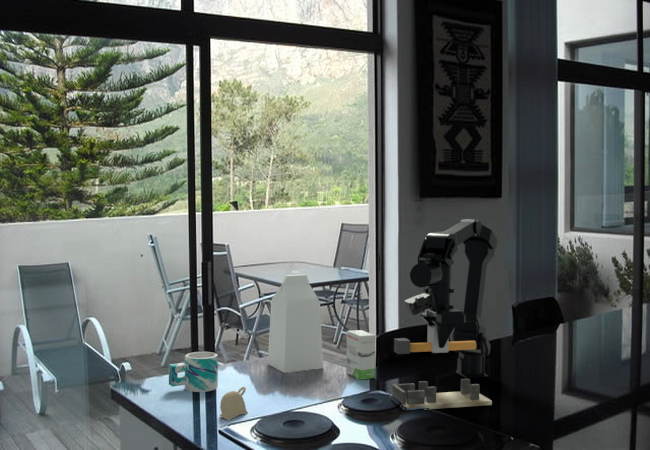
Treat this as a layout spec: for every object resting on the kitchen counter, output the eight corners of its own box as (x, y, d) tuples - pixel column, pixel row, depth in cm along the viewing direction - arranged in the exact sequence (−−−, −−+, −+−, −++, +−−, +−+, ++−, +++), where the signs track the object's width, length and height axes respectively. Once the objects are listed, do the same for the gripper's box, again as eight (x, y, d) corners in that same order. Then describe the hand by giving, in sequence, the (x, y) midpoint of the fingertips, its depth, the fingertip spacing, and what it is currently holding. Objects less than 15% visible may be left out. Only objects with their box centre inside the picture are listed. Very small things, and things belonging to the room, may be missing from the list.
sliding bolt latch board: (474, 394, 182) (474, 376, 181) (491, 404, 173) (492, 386, 173) (390, 399, 176) (390, 381, 176) (404, 410, 167) (404, 391, 167)
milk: (284, 372, 201) (285, 278, 200) (267, 363, 211) (268, 273, 210) (323, 368, 206) (324, 276, 205) (305, 360, 217) (306, 272, 215)
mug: (222, 389, 183) (222, 356, 183) (176, 396, 177) (176, 361, 177) (209, 381, 190) (209, 350, 190) (164, 388, 184) (164, 355, 184)
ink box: (375, 378, 196) (376, 334, 196) (359, 380, 194) (360, 336, 194) (361, 371, 204) (361, 329, 204) (345, 372, 202) (345, 330, 201)
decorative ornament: (214, 417, 161) (214, 393, 161) (240, 408, 168) (240, 385, 167) (227, 421, 158) (227, 396, 158) (253, 411, 165) (253, 388, 165)
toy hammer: (470, 347, 188) (471, 324, 187) (478, 351, 184) (478, 327, 184) (393, 350, 182) (393, 326, 182) (398, 354, 178) (399, 329, 178)
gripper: (395, 279, 189) (394, 339, 190) (423, 289, 171) (421, 355, 172) (435, 279, 192) (434, 338, 193) (467, 288, 174) (465, 353, 175)
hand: (437, 346), depth 183 cm, fingers closed on toy hammer, 4 cm apart
